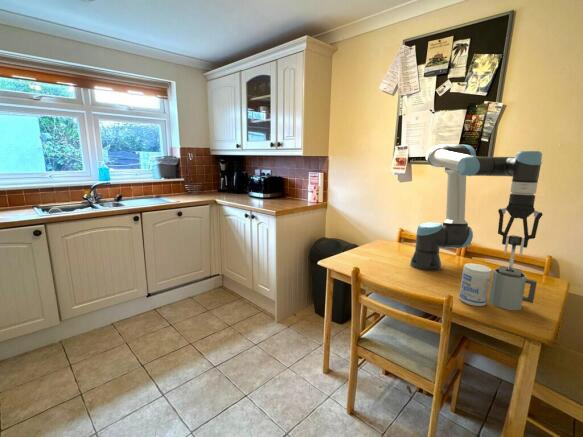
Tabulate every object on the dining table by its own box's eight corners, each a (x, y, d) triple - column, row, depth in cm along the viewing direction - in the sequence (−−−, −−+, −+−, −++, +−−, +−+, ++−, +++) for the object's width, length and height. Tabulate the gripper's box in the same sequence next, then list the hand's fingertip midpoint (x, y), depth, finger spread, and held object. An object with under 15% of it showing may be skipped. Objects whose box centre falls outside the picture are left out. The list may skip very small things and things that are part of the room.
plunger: (495, 287, 116) (502, 236, 112) (496, 281, 122) (503, 233, 118) (519, 292, 112) (528, 240, 108) (519, 286, 118) (528, 236, 114)
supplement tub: (456, 301, 120) (460, 267, 117) (461, 294, 127) (465, 261, 124) (484, 309, 113) (490, 273, 111) (488, 301, 121) (493, 266, 118)
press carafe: (487, 304, 117) (493, 271, 115) (490, 295, 126) (494, 264, 123) (531, 315, 109) (538, 280, 107) (531, 305, 117) (537, 271, 115)
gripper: (494, 192, 112) (485, 252, 116) (553, 196, 102) (541, 261, 106) (495, 191, 118) (487, 247, 122) (552, 194, 108) (540, 256, 112)
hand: (512, 253), depth 114 cm, fingers closed on plunger, 4 cm apart
